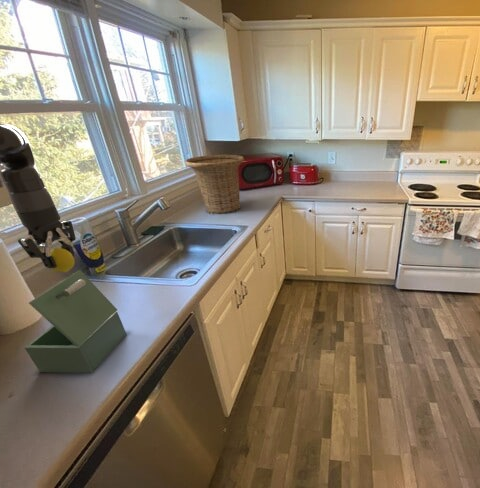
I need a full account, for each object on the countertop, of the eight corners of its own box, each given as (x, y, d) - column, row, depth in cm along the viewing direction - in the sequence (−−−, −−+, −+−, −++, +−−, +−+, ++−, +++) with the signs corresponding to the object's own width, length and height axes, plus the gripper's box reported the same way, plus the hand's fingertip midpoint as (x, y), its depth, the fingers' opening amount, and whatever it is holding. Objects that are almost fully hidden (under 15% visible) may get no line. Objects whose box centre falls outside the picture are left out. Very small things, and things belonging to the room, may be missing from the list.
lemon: (49, 275, 81) (37, 250, 77) (71, 266, 86) (60, 242, 82) (61, 278, 79) (49, 253, 76) (83, 269, 84) (72, 245, 80)
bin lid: (28, 302, 62) (43, 296, 61) (78, 270, 74) (91, 264, 73) (76, 347, 68) (91, 341, 67) (115, 310, 80) (128, 305, 79)
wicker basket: (231, 220, 170) (222, 164, 155) (183, 215, 179) (170, 162, 164) (259, 203, 200) (253, 155, 185) (217, 199, 209) (208, 153, 194)
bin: (40, 372, 72) (24, 347, 68) (82, 334, 84) (70, 311, 80) (92, 373, 72) (78, 348, 68) (126, 334, 84) (117, 311, 80)
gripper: (45, 198, 80) (69, 251, 87) (-9, 215, 67) (24, 275, 74) (71, 198, 80) (93, 250, 87) (22, 215, 67) (52, 275, 74)
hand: (61, 262), depth 81 cm, fingers closed on lemon, 5 cm apart
